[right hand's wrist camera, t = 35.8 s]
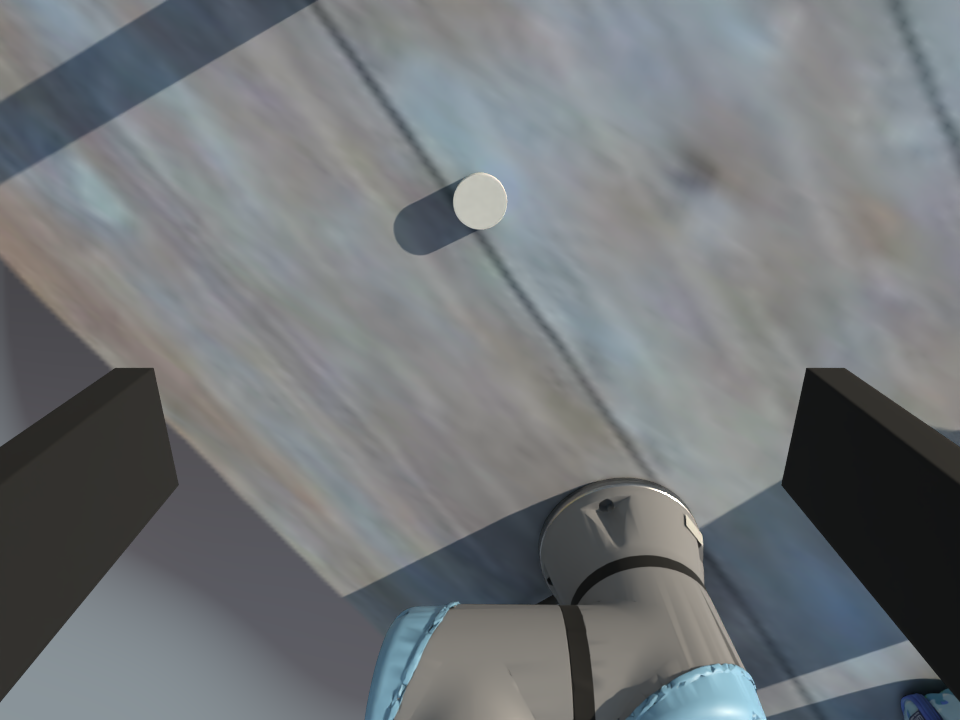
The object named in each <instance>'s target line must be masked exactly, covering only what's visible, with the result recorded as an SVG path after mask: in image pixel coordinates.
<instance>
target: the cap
mask: <svg viewBox="0 0 960 720" xmlns="http://www.w3.org/2000/svg"><path fill="white" fill-rule="evenodd" d="M453 207H454V211H455V214H456V215H457V217H458V219H459V220H460V221H461V222H462V223H463V224H464V225H466V226H467V227H470V228H472V229H477V230H483V229H488V228H491V227H493V226H494V225H496V224H497V223H498V222H499V221H500V220H501V219H502V217H503V216H504V214H505V211H506V208H507V196H506V192H505V190H504V187H503V186H502V184H501V183H500V181H499V180H498V179H496V178H495V177H494V176H492V175H490V174H487V173H474V174H471V175H468V176H467V177H465V178H464V179H463V180H462V181H461V182H460V183H459V184H458V186H457V188H456V190H455V193H454V197H453Z"/></svg>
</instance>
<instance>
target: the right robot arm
mask: <svg viewBox="0 0 960 720" xmlns="http://www.w3.org/2000/svg"><path fill="white" fill-rule="evenodd" d="M178 485H179V484H178V480H177V475H176V470H175V466H174V461H173V457H172V452H171V447H170V442H169V438H168V433H167V428H166V424H165V419H164V414H163V410H162V405H161V400H160V396H159V391H158V386H157V382H156V377H155V372H154V368H115V369H113V370H112V371H110V372H109V373H107V374H106V375H105V376H103V377H102V378H100V379H99V380H97V381H96V382H94V383H93V384H91V385H90V386H88V387H87V388H86V389H84V390H83V391H81V392H80V393H78V394H77V395H75V396H74V397H72V398H71V399H69V400H68V401H67V402H65V403H64V404H62V405H61V406H59V407H58V408H56V409H55V410H53V411H52V412H51V413H49V414H48V415H46V416H45V417H43V418H42V419H40V420H39V421H37V422H36V423H34V424H33V425H32V426H30V427H29V428H27V429H26V430H24V431H23V432H21V433H20V434H18V435H17V436H15V437H14V438H13V439H11V440H10V441H8V442H7V443H5V444H4V445H2V446H1V447H0V702H1V701H2V699H3V698H4V697H5V696H6V695H7V693H8V692H9V691H10V690H11V688H12V687H13V686H14V685H15V684H16V682H17V681H18V680H19V679H20V678H21V676H22V675H23V674H24V673H25V671H26V670H27V669H28V668H29V667H30V665H31V664H32V663H33V662H34V660H35V659H36V658H37V657H38V656H39V654H40V653H41V652H42V651H43V650H44V648H45V647H46V646H47V645H48V643H49V642H50V641H51V640H52V639H53V637H54V636H55V635H56V634H57V632H58V631H59V630H60V629H61V628H62V626H63V625H64V624H65V623H66V621H67V620H68V619H69V618H70V617H71V615H72V614H73V613H74V612H75V611H76V609H77V608H78V607H79V606H80V604H81V603H82V602H83V601H84V600H85V598H86V597H87V596H88V595H89V594H90V592H91V591H92V590H93V589H94V587H95V586H96V585H97V584H98V583H99V581H100V580H101V579H102V578H103V577H104V575H105V574H106V573H107V572H108V570H109V569H110V568H111V567H112V566H113V564H114V563H115V562H116V561H117V559H118V558H119V557H120V556H121V555H122V553H123V552H124V551H125V550H126V548H127V547H128V546H129V545H130V544H131V542H132V541H133V540H134V539H135V537H136V536H137V535H138V534H139V533H140V531H141V530H142V529H143V528H144V527H145V525H146V524H147V523H148V522H149V520H150V519H151V518H152V517H153V516H154V514H155V513H156V512H157V511H158V509H159V508H160V507H161V506H162V505H163V503H164V502H165V501H166V500H167V499H168V497H169V496H170V495H171V494H172V492H173V491H174V490H175V489H176V488H177V486H178ZM781 485H782V486H783V488H784V489H785V490H786V491H787V493H788V494H789V495H790V496H791V497H792V499H793V500H794V501H795V502H796V503H797V505H798V506H799V507H800V508H801V510H802V511H803V512H804V513H805V514H806V516H807V517H808V518H809V519H810V521H811V522H812V523H813V524H814V525H815V527H816V528H817V529H818V530H819V531H820V533H821V534H822V535H823V536H824V538H825V539H826V540H827V541H828V542H829V544H830V545H831V546H832V547H833V549H834V550H835V551H836V552H837V553H838V555H839V556H840V557H841V558H842V559H843V561H844V562H845V563H846V564H847V566H848V567H849V568H850V569H851V570H852V572H853V573H854V574H855V575H856V577H857V578H858V579H859V580H860V581H861V583H862V584H863V585H864V586H865V587H866V589H867V590H868V591H869V592H870V594H871V595H872V596H873V597H874V598H875V600H876V601H877V602H878V603H879V604H880V606H881V607H882V608H883V609H884V611H885V612H886V613H887V614H888V615H889V617H890V618H891V619H892V620H893V622H894V623H895V624H896V625H897V626H898V628H899V629H900V630H901V631H902V632H903V634H904V635H905V636H906V637H907V639H908V640H909V641H910V642H911V643H912V645H913V646H914V647H915V648H916V650H917V651H918V652H919V653H920V654H921V656H922V657H923V658H924V659H925V660H926V662H927V663H928V664H929V665H930V667H931V668H932V669H933V670H934V671H935V673H936V674H937V675H938V676H939V678H940V679H941V680H942V681H943V682H944V684H945V685H946V686H947V687H948V688H949V690H950V691H951V692H952V693H953V695H954V696H955V697H956V698H957V699H958V701H959V702H960V447H959V446H958V445H956V444H955V443H953V442H952V441H950V440H949V439H947V438H946V437H945V436H943V435H942V434H940V433H939V432H937V431H936V430H934V429H933V428H931V427H930V426H928V425H927V424H926V423H924V422H923V421H921V420H920V419H918V418H917V417H915V416H914V415H912V414H911V413H909V412H908V411H907V410H905V409H904V408H902V407H901V406H899V405H898V404H896V403H895V402H893V401H892V400H891V399H889V398H888V397H886V396H885V395H883V394H882V393H880V392H879V391H877V390H876V389H874V388H873V387H872V386H870V385H869V384H867V383H866V382H864V381H863V380H861V379H860V378H858V377H857V376H855V375H854V374H853V373H851V372H850V371H848V370H847V369H845V368H806V372H805V377H804V382H803V386H802V391H801V396H800V400H799V405H798V410H797V414H796V419H795V424H794V428H793V433H792V438H791V442H790V447H789V452H788V456H787V461H786V466H785V470H784V475H783V480H782V484H781ZM539 557H540V564H541V569H542V572H543V575H544V578H545V581H546V583H547V585H548V587H549V589H550V591H551V592H552V594H553V595H552V596H550V597H549V598H547V599H545V600H543V601H541V602H539V603H538V604H536V605H518V604H460V603H459V602H451V603H448V604H447V605H435V606H416V607H411V608H408V609H406V610H404V611H403V612H402V613H401V614H400V615H398V616H397V617H396V619H395V620H394V622H393V623H392V624H391V626H390V628H389V629H388V631H387V634H386V636H385V638H384V641H383V643H382V646H381V649H380V652H379V656H378V659H377V662H376V666H375V670H374V674H373V678H372V683H371V687H370V692H369V697H368V702H367V708H366V714H365V720H767V719H766V717H765V714H764V712H763V709H762V706H761V704H760V701H759V699H758V696H757V692H756V686H755V685H754V681H753V679H752V677H751V676H750V674H749V673H748V672H746V670H745V668H744V666H743V664H742V662H741V660H740V658H739V656H738V654H737V652H736V649H735V647H734V645H733V643H732V641H731V639H730V637H729V635H728V633H727V631H726V629H725V627H724V625H723V623H722V621H721V619H720V617H719V615H718V613H717V611H716V609H715V607H714V605H713V603H712V601H711V598H710V597H709V595H708V592H707V590H706V588H705V586H704V569H703V564H702V563H703V537H702V534H701V533H700V531H699V528H698V526H697V523H696V521H695V519H694V517H693V516H692V514H691V512H690V510H689V509H688V507H687V506H686V505H685V503H684V502H683V501H682V500H681V499H680V498H679V497H678V496H677V495H676V494H674V493H673V492H671V491H670V490H668V489H667V488H665V487H663V486H661V485H658V484H656V483H653V482H650V481H647V480H642V479H635V478H613V479H606V480H602V481H598V482H595V483H592V484H589V485H587V486H584V487H582V488H580V489H578V490H576V491H575V492H573V493H571V494H570V495H568V496H567V497H566V498H565V499H563V500H562V501H561V502H560V503H559V504H558V505H557V506H556V507H555V508H554V509H553V511H552V512H551V513H550V515H549V516H548V518H547V520H546V521H545V523H544V526H543V528H542V531H541V534H540V539H539ZM557 604H560V605H557Z"/></svg>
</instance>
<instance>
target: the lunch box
mask: <svg viewBox="0 0 960 720" xmlns="http://www.w3.org/2000/svg"><path fill="white" fill-rule="evenodd" d="M901 709H902V712H903V715H904V720H960V702H959V701H958V699H957V698H956V697H955V696H954V695H953V693H952V692H951V691H950V690H949V688H948V689H945V690H943V691H941V692H940V693H939V694H935V693H931V694H927V695H925V696H923V695H922V694H917V693H915V694H911V695H907V696H904V697H903V698H902V699H901Z"/></svg>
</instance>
